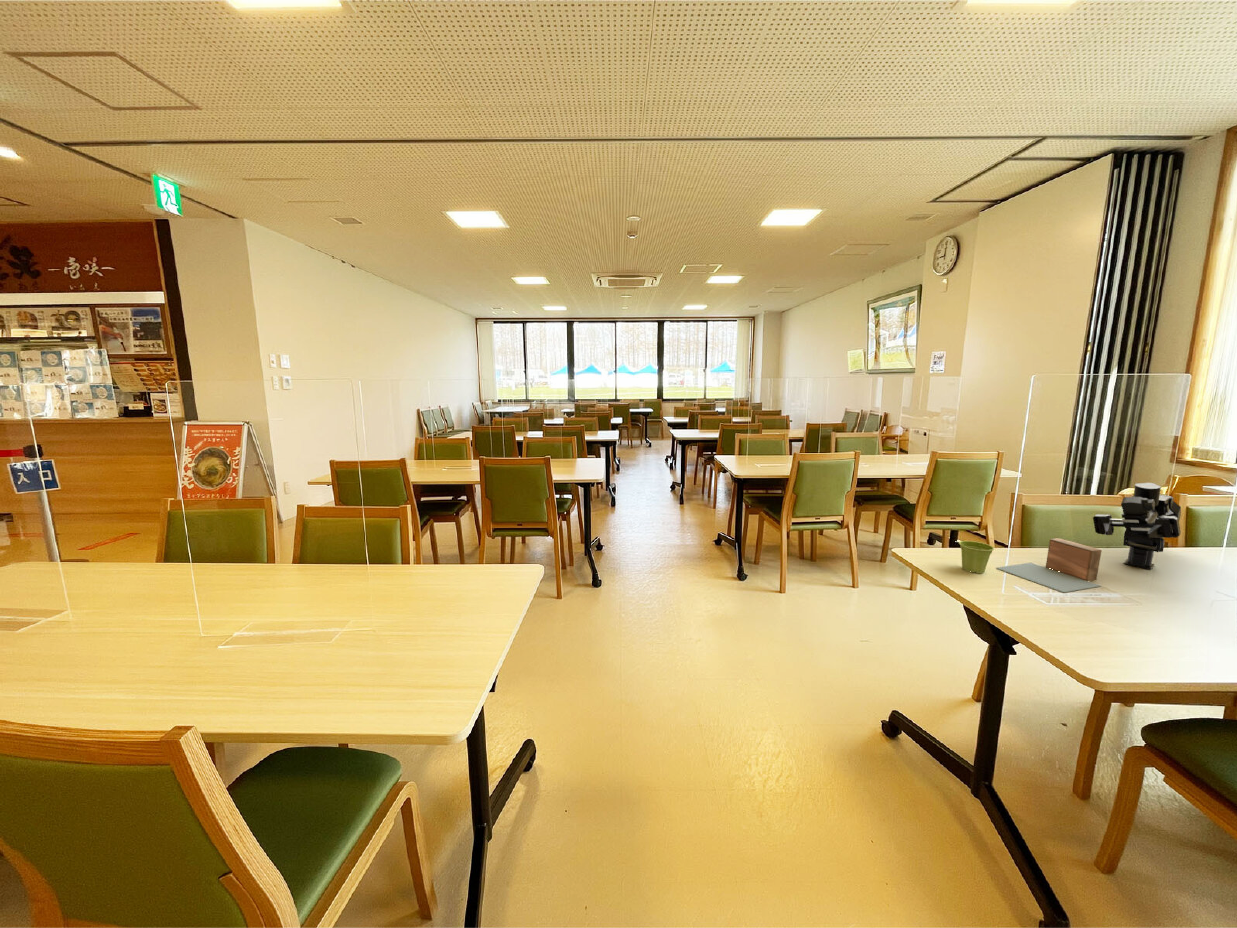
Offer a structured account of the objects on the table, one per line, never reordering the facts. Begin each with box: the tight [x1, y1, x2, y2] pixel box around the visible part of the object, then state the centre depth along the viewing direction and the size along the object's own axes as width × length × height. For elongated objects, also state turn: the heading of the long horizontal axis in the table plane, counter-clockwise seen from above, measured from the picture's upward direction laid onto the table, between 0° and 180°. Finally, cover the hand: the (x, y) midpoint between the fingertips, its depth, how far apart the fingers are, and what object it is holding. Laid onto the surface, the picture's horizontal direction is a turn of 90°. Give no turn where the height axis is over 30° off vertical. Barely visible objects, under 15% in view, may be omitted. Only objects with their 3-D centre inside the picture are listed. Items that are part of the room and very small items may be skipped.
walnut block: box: [1045, 537, 1102, 582], centre depth 160 cm, size 4×12×10 cm, turn 16°
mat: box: [996, 562, 1102, 594], centre depth 158 cm, size 16×20×1 cm
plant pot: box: [958, 540, 995, 574], centre depth 163 cm, size 9×9×9 cm
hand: (1126, 534), depth 151 cm, fingers open, 9 cm apart
